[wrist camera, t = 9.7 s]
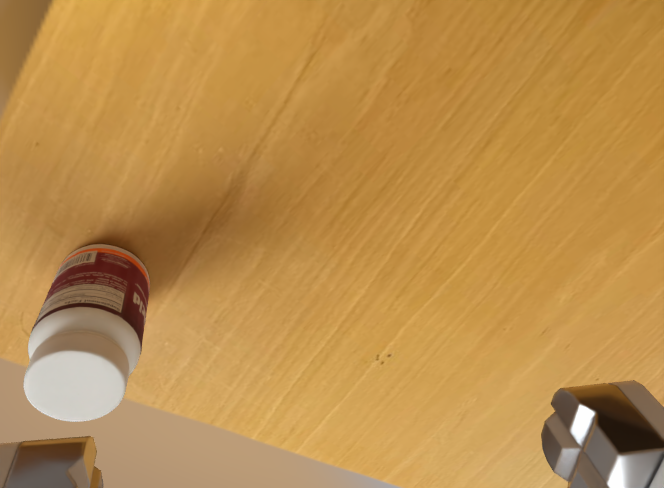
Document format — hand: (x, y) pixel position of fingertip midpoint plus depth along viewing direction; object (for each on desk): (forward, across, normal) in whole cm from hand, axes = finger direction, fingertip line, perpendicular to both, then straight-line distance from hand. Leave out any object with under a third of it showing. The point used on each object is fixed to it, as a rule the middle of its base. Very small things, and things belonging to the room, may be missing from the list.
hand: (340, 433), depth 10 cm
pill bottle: (+21, +8, +10) cm, 25 cm away
